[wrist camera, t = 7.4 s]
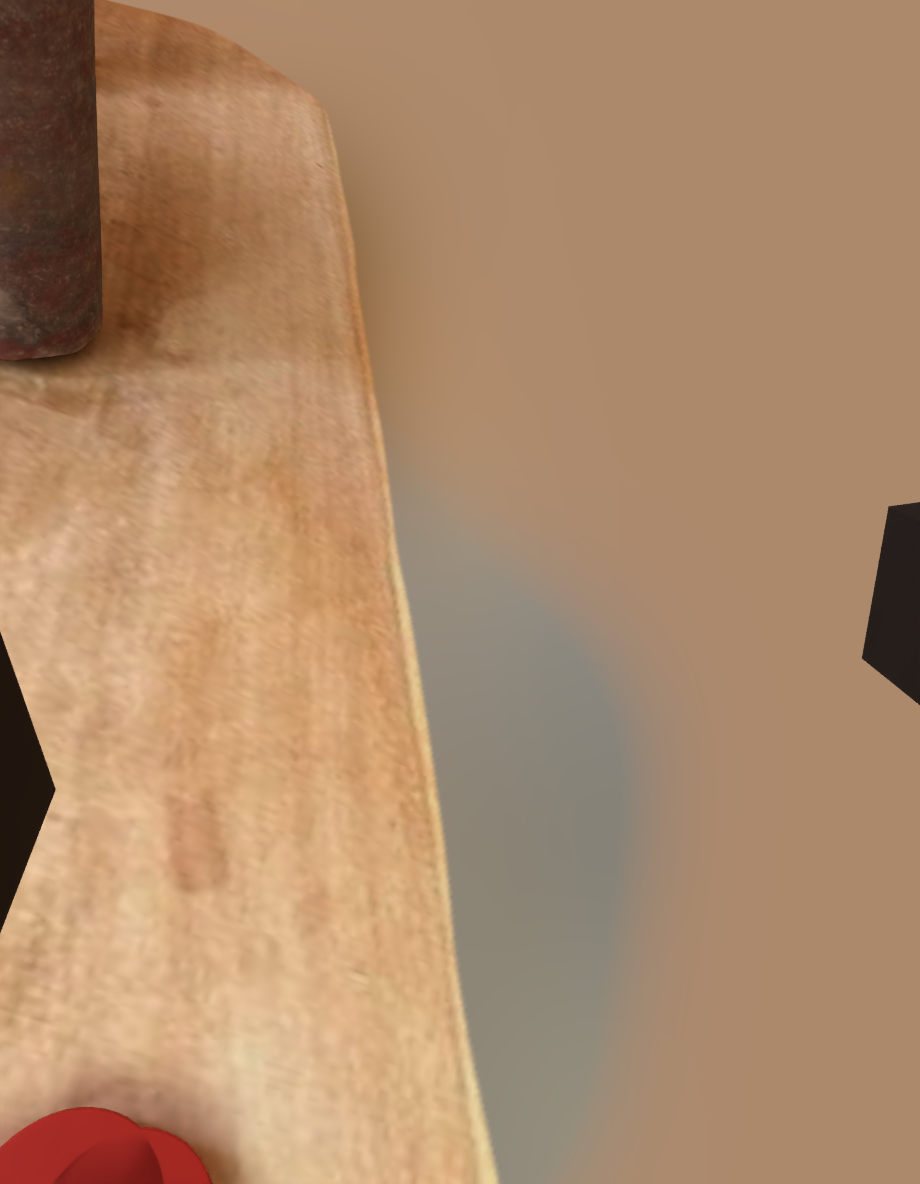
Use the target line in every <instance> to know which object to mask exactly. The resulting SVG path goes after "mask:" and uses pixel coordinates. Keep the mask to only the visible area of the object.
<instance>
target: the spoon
mask: <svg viewBox="0 0 920 1184" xmlns="http://www.w3.org/2000/svg"><path fill="white" fill-rule="evenodd" d="M0 1184H212V1181H211V1178H210V1176H209V1173H208V1171H207V1169H206V1167H205V1165H204V1163H203V1161H202V1160H201V1158H200V1157H199V1156H198V1154H197V1153H196V1152H195V1150H194V1149H193V1148H192V1147H191V1146H189V1145H188V1144H187V1143H186V1142H185V1141H183V1140H182V1139H181V1138H179V1137H178V1136H176V1135H174V1134H172V1133H169V1132H167V1131H164V1130H160V1129H157V1128H149V1127H140V1126H139V1125H137V1124H136V1123H135V1122H133V1121H132V1120H130V1119H129V1118H128V1117H126V1116H124V1115H121V1114H119V1113H117V1112H114V1111H111V1110H107V1109H103V1108H95V1107H79V1108H73V1109H66V1110H63V1111H59V1112H56V1113H53V1114H50V1115H48V1116H46V1117H43V1118H41V1119H39V1120H37V1121H35V1122H34V1123H32V1124H30V1125H28V1126H27V1127H25V1128H24V1129H22V1130H21V1131H20V1132H18V1133H17V1134H15V1135H14V1136H13V1137H12V1138H10V1139H9V1140H8V1141H7V1142H6V1143H5V1144H4V1145H3V1146H1V1147H0Z"/></svg>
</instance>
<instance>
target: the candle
mask: <svg viewBox="0 0 920 1184" xmlns="http://www.w3.org/2000/svg"><path fill="white" fill-rule="evenodd" d="M101 325H102V254H101V220H100V197H99V170H98V144H97V111H96V77H95V39H94V0H0V359H2V360H14V361H15V360H20V359H25V358H43V357H52V356H56V355H65V354H69V353H75V352H77V351H79V350H80V349H81V348H83V347H85V345H86V344H87V343H88V342H90V341H91V340H92V339H93V337H94V336H95V335H96V334H97V332H98V331H99V330H100V328H101Z"/></svg>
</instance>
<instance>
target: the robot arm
mask: <svg viewBox="0 0 920 1184" xmlns="http://www.w3.org/2000/svg"><path fill="white" fill-rule="evenodd" d="M862 659H863V660H865V661H866V662H867V663H868V664H870V665H871V666H872V667H873V668H874V669H876V670H877V671H878V672H880V673H881V674H882V675H883V676H884V677H886V678H887V679H888V680H889V681H891V682H892V683H893V684H895V685H896V686H897V687H898V688H899V689H901V690H902V691H903V692H904V693H905V694H907V695H908V696H909V697H910V698H912V699H913V700H914V701H915V702H917V703H918V704H919V705H920V502H918V503H911V504H903V505H897V506H889V507H888V513H887V519H886V525H885V530H884V536H883V542H882V547H881V553H880V559H879V564H878V570H877V576H876V581H875V587H874V593H873V598H872V604H871V610H870V616H869V621H868V627H867V632H866V638H865V644H864V649H863V655H862ZM55 790H56V789H55V786H54V783H53V781H52V778H51V775H50V772H49V769H48V766H47V763H46V761H45V758H44V755H43V752H42V749H41V746H40V744H39V741H38V738H37V735H36V732H35V729H34V726H33V724H32V721H31V718H30V715H29V712H28V709H27V707H26V704H25V701H24V698H23V695H22V692H21V689H20V687H19V684H18V681H17V678H16V675H15V672H14V670H13V667H12V664H11V661H10V658H9V655H8V652H7V650H6V647H5V644H4V641H3V638H2V635H1V633H0V932H1V930H2V927H3V925H4V922H5V919H6V917H7V914H8V912H9V909H10V906H11V904H12V901H13V899H14V896H15V894H16V891H17V888H18V886H19V883H20V881H21V878H22V875H23V873H24V870H25V868H26V865H27V862H28V860H29V857H30V855H31V852H32V850H33V847H34V844H35V842H36V839H37V837H38V834H39V831H40V829H41V826H42V824H43V821H44V818H45V816H46V813H47V811H48V808H49V806H50V803H51V800H52V798H53V795H54V793H55Z"/></svg>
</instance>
